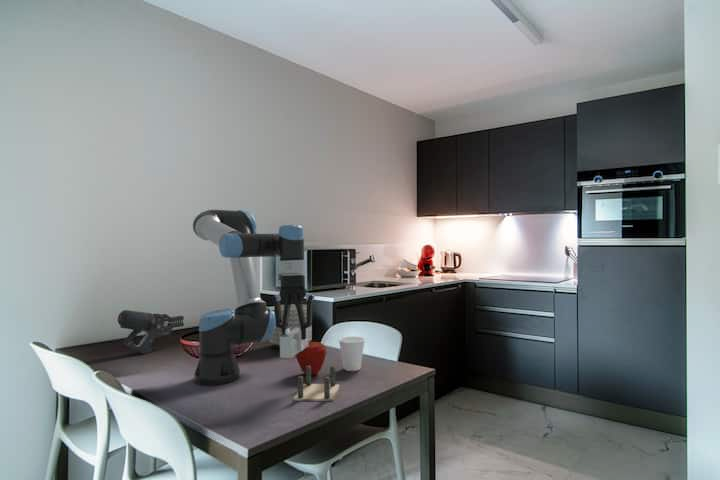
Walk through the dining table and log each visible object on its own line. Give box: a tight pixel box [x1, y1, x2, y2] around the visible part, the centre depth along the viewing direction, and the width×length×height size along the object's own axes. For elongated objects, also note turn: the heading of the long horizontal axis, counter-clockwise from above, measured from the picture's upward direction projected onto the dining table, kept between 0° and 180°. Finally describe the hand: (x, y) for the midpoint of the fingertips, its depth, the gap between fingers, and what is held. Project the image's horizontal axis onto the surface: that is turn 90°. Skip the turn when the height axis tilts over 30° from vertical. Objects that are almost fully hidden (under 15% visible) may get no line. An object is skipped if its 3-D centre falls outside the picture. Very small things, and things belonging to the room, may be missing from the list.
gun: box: [117, 309, 185, 355], centre depth 184 cm, size 7×28×20 cm, turn 144°
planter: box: [269, 304, 313, 348], centre depth 189 cm, size 19×19×18 cm
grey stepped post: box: [279, 328, 308, 359], centre depth 128 cm, size 17×4×6 cm, turn 172°
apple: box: [295, 340, 327, 376], centre depth 147 cm, size 11×11×12 cm
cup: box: [338, 336, 366, 372], centre depth 153 cm, size 10×10×11 cm
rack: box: [292, 365, 340, 402], centre depth 128 cm, size 12×13×7 cm
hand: (294, 350), depth 128 cm, fingers closed on grey stepped post, 3 cm apart
